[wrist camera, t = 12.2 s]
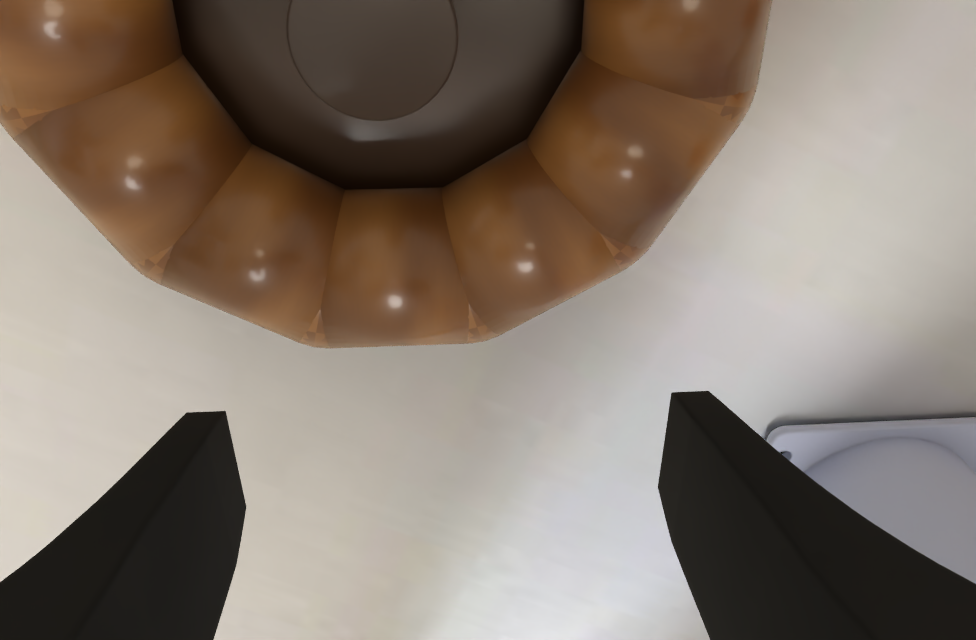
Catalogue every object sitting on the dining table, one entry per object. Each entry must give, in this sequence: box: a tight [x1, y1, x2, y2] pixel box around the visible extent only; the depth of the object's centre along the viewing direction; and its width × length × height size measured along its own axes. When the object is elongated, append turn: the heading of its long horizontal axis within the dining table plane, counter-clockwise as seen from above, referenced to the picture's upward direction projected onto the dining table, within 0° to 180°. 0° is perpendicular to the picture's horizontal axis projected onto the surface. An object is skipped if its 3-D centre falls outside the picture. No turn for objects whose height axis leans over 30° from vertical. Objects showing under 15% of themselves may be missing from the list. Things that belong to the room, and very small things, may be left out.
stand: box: [172, 0, 584, 190], centre depth 15 cm, size 10×10×6 cm
